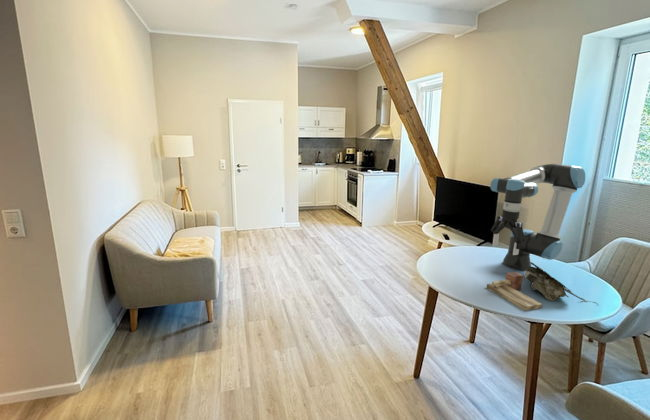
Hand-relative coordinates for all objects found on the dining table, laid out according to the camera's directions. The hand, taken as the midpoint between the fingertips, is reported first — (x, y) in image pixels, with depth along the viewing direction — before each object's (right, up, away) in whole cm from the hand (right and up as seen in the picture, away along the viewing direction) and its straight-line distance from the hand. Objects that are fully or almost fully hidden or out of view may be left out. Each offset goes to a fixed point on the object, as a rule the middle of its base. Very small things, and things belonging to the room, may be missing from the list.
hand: (504, 250), depth 175 cm
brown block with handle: (+1, -21, +2) cm, 21 cm away
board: (0, -23, -6) cm, 24 cm away
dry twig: (+34, -23, 0) cm, 42 cm away
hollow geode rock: (+22, -22, +3) cm, 31 cm away
